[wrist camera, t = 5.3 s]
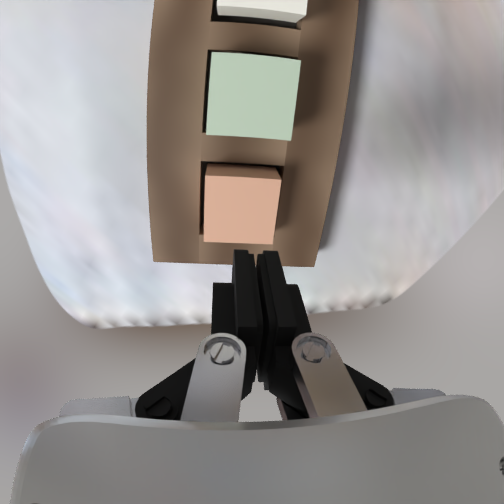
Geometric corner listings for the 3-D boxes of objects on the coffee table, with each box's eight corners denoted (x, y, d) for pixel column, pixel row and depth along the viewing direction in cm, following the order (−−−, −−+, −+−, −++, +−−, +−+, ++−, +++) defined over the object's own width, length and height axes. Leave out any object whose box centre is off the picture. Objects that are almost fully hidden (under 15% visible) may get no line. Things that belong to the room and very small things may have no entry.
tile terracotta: (275, 167, 20) (281, 179, 18) (267, 226, 22) (272, 244, 20) (207, 163, 19) (205, 175, 17) (205, 223, 22) (203, 241, 19)
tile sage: (291, 62, 15) (301, 60, 13) (282, 132, 17) (290, 140, 15) (213, 55, 15) (211, 52, 12) (208, 127, 17) (205, 134, 15)
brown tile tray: (351, -45, 12) (361, -53, 10) (308, 254, 25) (314, 267, 23) (172, -65, 11) (167, -75, 9) (157, 248, 23) (153, 261, 22)
